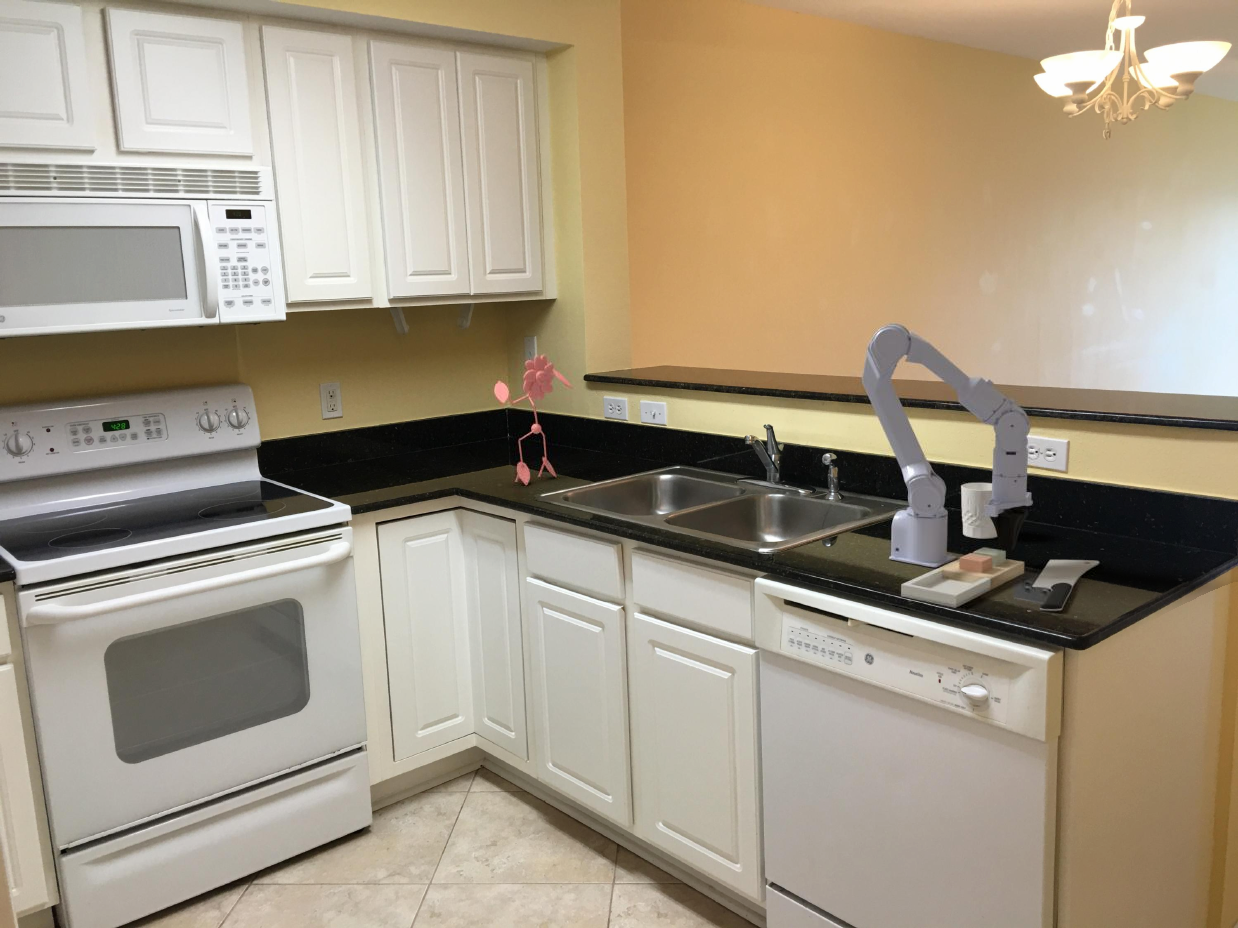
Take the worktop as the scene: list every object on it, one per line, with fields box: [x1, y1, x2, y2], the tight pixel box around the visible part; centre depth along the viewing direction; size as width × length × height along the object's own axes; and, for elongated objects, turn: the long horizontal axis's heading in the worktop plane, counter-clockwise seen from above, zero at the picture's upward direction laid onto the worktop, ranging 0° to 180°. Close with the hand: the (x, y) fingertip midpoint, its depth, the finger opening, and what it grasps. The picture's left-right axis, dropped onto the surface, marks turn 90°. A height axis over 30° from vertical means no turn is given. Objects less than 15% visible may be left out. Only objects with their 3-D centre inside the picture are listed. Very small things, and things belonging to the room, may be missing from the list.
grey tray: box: [900, 568, 991, 609], centre depth 164 cm, size 10×12×2 cm
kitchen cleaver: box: [1031, 559, 1100, 614], centre depth 167 cm, size 31×2×10 cm
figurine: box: [493, 354, 574, 487], centre depth 269 cm, size 15×26×35 cm, turn 140°
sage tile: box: [972, 547, 1007, 567], centre depth 173 cm, size 4×4×2 cm
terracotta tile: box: [958, 552, 993, 573], centre depth 170 cm, size 4×4×2 cm
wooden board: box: [937, 558, 1025, 591], centre depth 172 cm, size 10×13×2 cm
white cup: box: [960, 482, 998, 539], centre depth 200 cm, size 8×8×10 cm
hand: (1007, 548), depth 178 cm, fingers closed
